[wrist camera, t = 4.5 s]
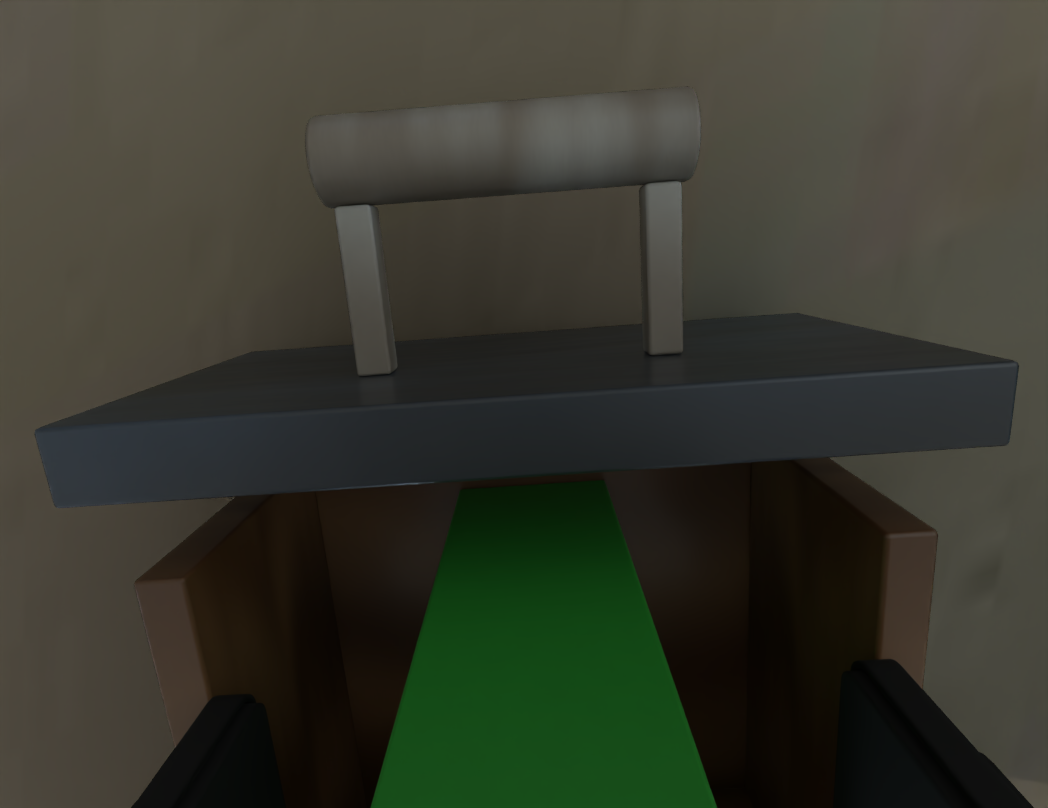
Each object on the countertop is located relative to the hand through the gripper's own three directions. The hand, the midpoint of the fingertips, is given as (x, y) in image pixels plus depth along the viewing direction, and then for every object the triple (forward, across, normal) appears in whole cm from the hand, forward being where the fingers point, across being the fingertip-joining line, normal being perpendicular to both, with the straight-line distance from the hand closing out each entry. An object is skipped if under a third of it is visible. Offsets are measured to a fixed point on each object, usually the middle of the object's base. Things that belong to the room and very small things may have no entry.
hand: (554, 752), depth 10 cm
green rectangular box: (+6, 0, 0) cm, 6 cm away
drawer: (+7, 0, -1) cm, 7 cm away
